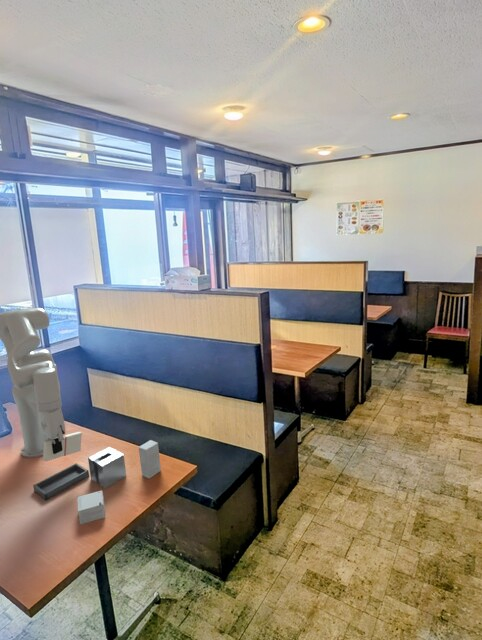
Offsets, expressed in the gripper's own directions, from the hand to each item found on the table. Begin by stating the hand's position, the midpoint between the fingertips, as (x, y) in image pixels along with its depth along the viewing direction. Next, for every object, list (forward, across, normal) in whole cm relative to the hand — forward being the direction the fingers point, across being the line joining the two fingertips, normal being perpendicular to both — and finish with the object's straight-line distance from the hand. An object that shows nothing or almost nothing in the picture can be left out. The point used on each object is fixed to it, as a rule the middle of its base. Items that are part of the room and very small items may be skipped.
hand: (56, 450), depth 138 cm
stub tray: (+14, -1, +1) cm, 14 cm away
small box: (+14, +22, -1) cm, 26 cm away
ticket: (+3, 0, +2) cm, 3 cm away
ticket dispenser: (+14, +10, +13) cm, 21 cm away
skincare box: (+14, +21, +24) cm, 35 cm away
